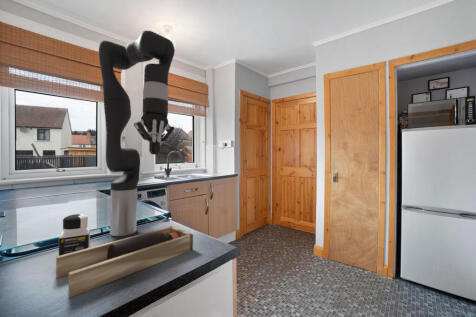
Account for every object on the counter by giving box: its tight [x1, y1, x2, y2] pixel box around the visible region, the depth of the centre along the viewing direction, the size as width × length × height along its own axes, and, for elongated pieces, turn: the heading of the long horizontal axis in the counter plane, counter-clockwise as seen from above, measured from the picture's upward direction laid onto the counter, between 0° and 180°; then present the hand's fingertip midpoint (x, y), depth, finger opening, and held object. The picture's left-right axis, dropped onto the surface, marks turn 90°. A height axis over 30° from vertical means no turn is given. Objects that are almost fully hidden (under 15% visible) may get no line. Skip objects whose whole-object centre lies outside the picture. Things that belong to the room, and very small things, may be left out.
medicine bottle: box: [58, 213, 91, 256], centre depth 67 cm, size 7×7×12 cm
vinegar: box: [107, 232, 179, 260], centre depth 67 cm, size 7×7×20 cm
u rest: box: [55, 225, 194, 298], centre depth 64 cm, size 12×33×5 cm, turn 140°
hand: (154, 154), depth 70 cm, fingers closed
